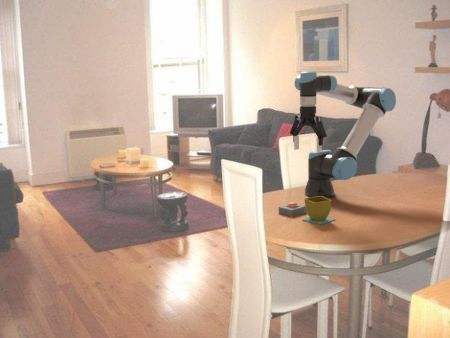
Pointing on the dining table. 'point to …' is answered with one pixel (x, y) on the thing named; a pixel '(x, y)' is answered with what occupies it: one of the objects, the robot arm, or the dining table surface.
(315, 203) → the flower pot
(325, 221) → the pad
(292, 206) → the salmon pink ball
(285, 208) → the housing
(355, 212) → the dining table surface
